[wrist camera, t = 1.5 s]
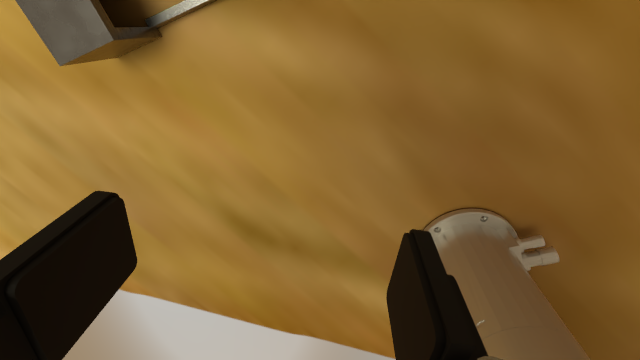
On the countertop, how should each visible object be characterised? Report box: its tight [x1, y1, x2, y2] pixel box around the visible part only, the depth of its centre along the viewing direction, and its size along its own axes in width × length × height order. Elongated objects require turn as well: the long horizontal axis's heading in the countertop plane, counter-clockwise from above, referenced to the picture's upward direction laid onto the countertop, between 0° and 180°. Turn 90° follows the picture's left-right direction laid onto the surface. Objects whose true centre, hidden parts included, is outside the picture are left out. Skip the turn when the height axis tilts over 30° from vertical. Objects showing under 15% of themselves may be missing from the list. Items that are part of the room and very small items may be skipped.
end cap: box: [16, 0, 162, 66], centre depth 28 cm, size 6×8×8 cm
